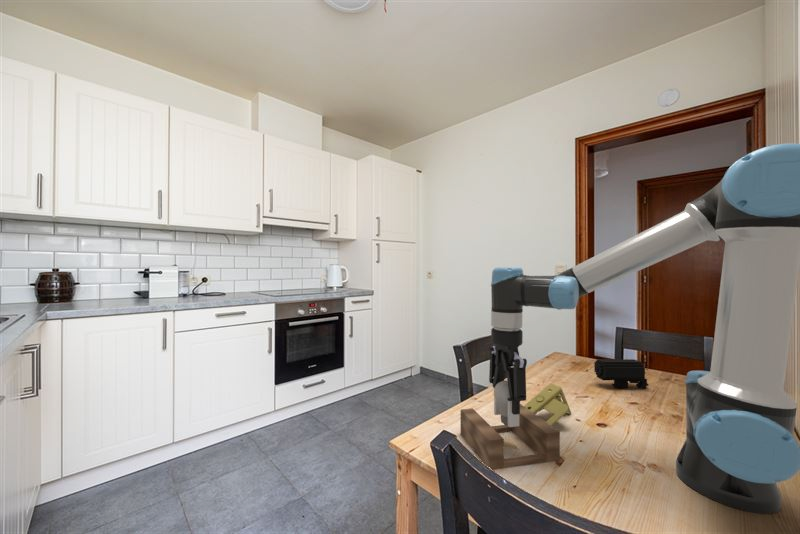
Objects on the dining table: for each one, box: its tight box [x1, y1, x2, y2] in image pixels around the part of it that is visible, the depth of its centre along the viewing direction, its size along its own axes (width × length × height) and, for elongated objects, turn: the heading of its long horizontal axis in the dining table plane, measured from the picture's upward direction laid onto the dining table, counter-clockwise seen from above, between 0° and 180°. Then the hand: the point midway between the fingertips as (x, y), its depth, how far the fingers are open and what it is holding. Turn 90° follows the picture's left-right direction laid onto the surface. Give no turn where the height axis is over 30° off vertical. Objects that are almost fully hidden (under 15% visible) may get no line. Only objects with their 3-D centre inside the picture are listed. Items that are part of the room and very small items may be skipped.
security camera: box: [593, 358, 649, 389], centre depth 123 cm, size 7×18×10 cm, turn 89°
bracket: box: [523, 383, 572, 427], centre depth 94 cm, size 10×14×10 cm
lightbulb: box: [493, 380, 510, 425], centre depth 81 cm, size 6×6×11 cm
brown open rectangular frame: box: [460, 403, 561, 471], centre depth 80 cm, size 16×18×7 cm
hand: (506, 419), depth 81 cm, fingers closed on lightbulb, 6 cm apart
